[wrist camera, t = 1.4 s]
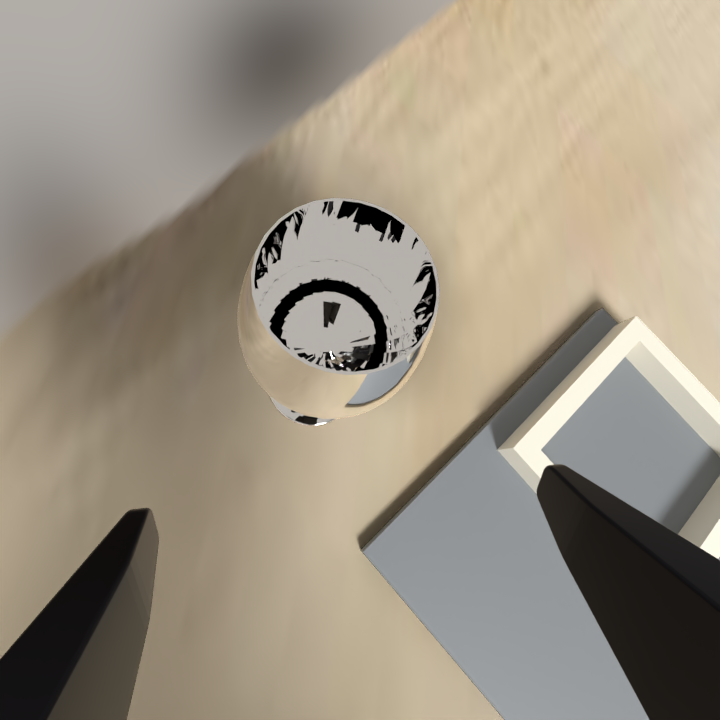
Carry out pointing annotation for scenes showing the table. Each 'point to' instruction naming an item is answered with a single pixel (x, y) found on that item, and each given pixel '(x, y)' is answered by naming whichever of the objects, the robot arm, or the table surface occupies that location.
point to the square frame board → (531, 530)
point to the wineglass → (336, 309)
